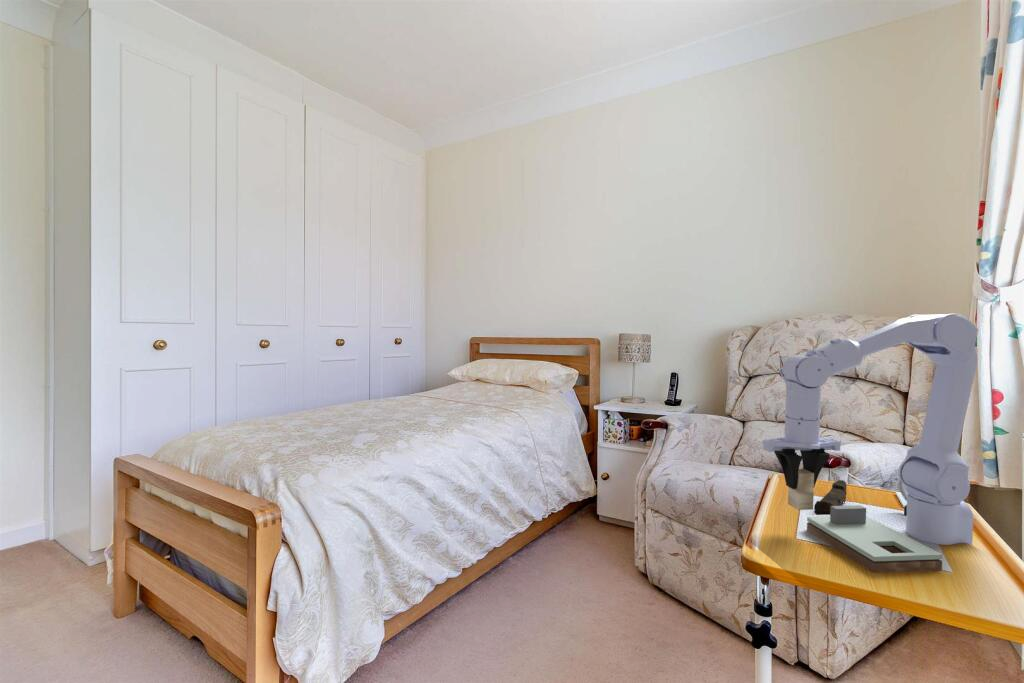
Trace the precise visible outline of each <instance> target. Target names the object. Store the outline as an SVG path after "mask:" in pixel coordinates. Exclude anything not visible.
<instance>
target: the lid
mask: <svg viewBox="0 0 1024 683" xmlns="http://www.w3.org/2000/svg"><path fill="white" fill-rule="evenodd" d="M806 521H807V522H810V523H811V524H813V525H815V526H816V527H818V528H820V529H821V530H823V531H825V532H826V533H828V534H830V535H831V536H833V537H834V538H836V539H838V540H839V541H841V542H843V543H844V544H846V545H848V546H849V547H851V548H853V549H854V550H856V551H858V552H859V553H861V554H863V555H864V556H866V557H867V558H869V559H871V560H872V561H903V560H933V559H940V560H943V554H942V553H941V552H938V551H937V550H935V549H933V548H930V547H928V546H927V545H925V544H923V543H920V542H919V541H916V540H914V539H912V538H911V537H909V536H907V535H904V534H903V533H901V532H899V531H896V530H895V529H893V528H891V527H889V526H887V525H885V524H882V523H881V522H879V521H877V520H875V519H873V518H871V517H869V516H867V507H865V506H863V505H861V504H857V505H841V506H831V508H830V515H829V516H828V515H827V516H826V515H824V516H807V518H806ZM880 546H895V547H897V548H899V549H901V550H903V551H905V552H907V553H890V552H889V551H887V550H885V549H883V548H881V547H880Z"/></svg>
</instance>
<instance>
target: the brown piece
mask: <svg viewBox="0 0 1024 683" xmlns="http://www.w3.org/2000/svg"><path fill="white" fill-rule="evenodd" d="M806 531H808V532H809V533H811V534H812V535H814V536H815V537H817V538H819V539H820V540H821V541H823V542H825V543H827V544H828V545H830V546H831V547H833V548H834V549H836V550H838V551H839V552H840V553H842V554H844V555H845V556H847V557H848V558H850V559H852V560H853V561H854V562H856V563H858V564H859V565H861V566H862V567H864V568H866V569H867V570H869V571H871V572H872V573H897V572H899V573H900V572H901V573H902V572H923V571H924V572H927V571H943V559H933V560H903V561H872V560H871V559H869V558H867V557H866V556H864V555H863V554H861V553H859V552H858V551H856V550H854V549H853V548H851V547H849V546H848V545H846V544H844V543H843V542H841V541H839V540H838V539H836V538H834V537H833V536H831V535H830V534H828V533H826V532H825V531H823V530H821V529H820V528H818V527H816V526H815V525H813V524H811V523H810V522H808V521H807V522H806ZM880 547H881V548H883V549H885V550H887V551H889V552H890V553H907V552H905V551H903V550H901V549H899V548H897V547H895V546H880Z"/></svg>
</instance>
